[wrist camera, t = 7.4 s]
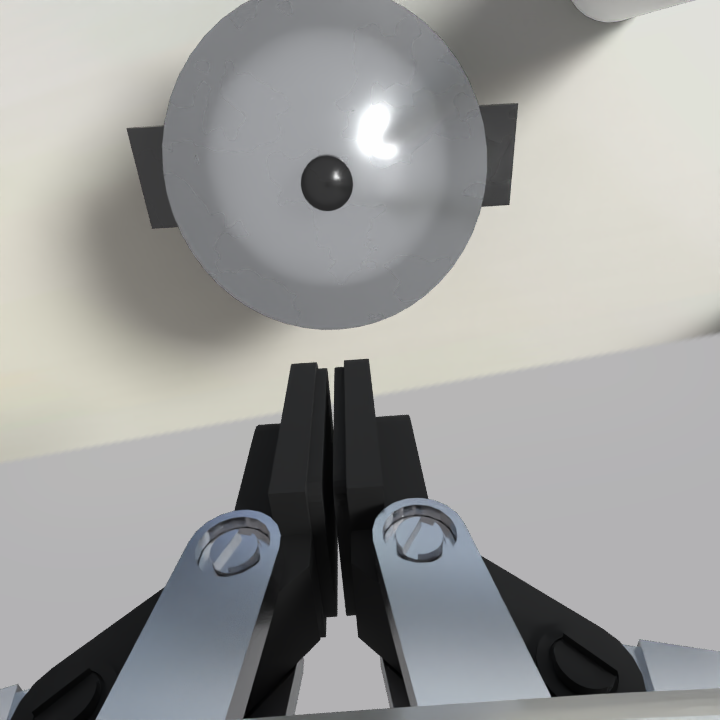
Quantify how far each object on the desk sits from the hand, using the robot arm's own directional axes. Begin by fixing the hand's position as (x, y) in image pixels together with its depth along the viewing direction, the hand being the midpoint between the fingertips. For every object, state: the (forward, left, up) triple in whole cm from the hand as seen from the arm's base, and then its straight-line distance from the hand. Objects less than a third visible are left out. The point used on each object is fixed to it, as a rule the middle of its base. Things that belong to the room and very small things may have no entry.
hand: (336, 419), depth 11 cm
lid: (0, -3, -17) cm, 18 cm away
